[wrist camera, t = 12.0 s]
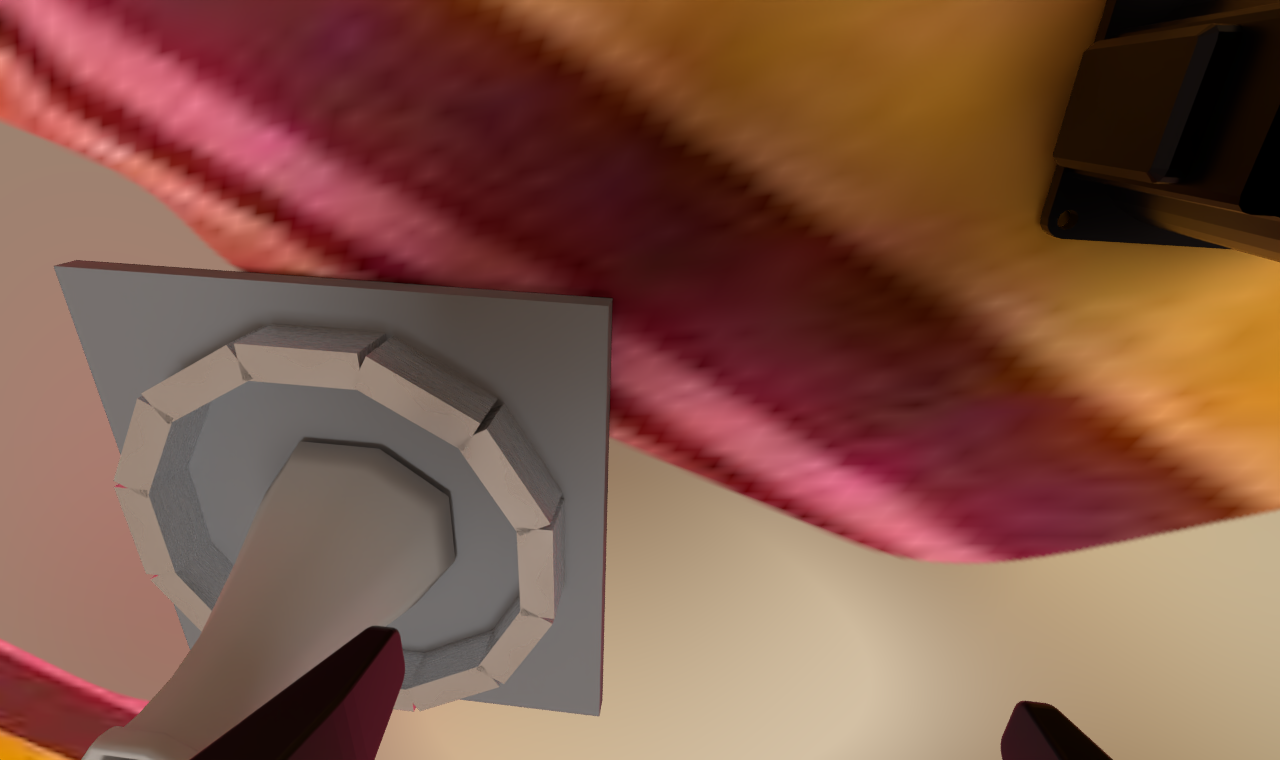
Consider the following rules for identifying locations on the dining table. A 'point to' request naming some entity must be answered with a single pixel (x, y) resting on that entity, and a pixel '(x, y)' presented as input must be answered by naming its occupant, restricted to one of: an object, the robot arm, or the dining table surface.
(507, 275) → the dining table surface
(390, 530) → the flask
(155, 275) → the rubber mat
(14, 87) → the dining table surface
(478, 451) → the stone ring
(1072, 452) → the dining table surface
